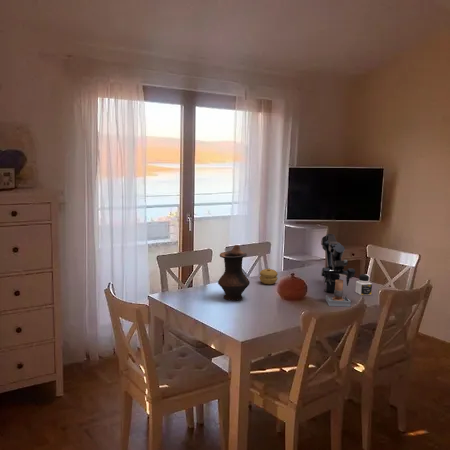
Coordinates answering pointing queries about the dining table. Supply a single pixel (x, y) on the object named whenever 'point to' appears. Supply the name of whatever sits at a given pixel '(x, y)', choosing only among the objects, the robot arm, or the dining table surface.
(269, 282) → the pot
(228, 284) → the dark brown vase
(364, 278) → the medicine bottle
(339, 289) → the wooden spool
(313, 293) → the dining table surface
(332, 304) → the notched board
